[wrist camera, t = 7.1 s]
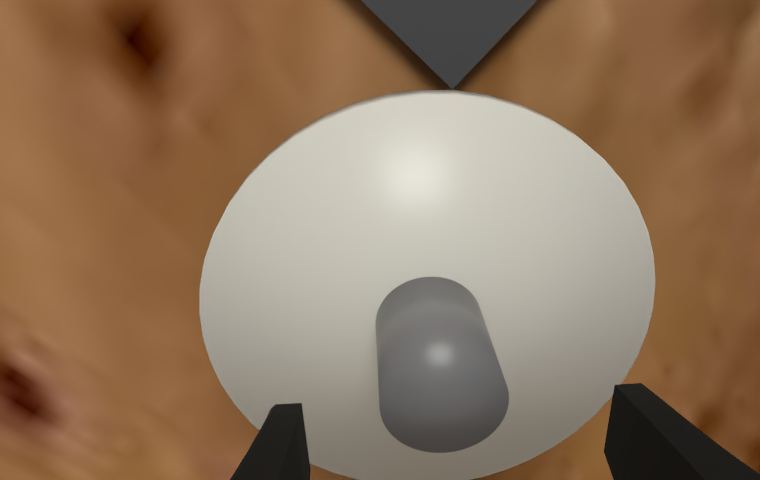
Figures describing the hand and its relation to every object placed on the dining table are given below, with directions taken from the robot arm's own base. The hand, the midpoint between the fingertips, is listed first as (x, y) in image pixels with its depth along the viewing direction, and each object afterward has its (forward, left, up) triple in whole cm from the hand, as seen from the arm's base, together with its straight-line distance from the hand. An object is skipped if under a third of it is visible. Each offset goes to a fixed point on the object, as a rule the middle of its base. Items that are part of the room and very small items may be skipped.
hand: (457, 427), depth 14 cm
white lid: (0, 0, -5) cm, 5 cm away
